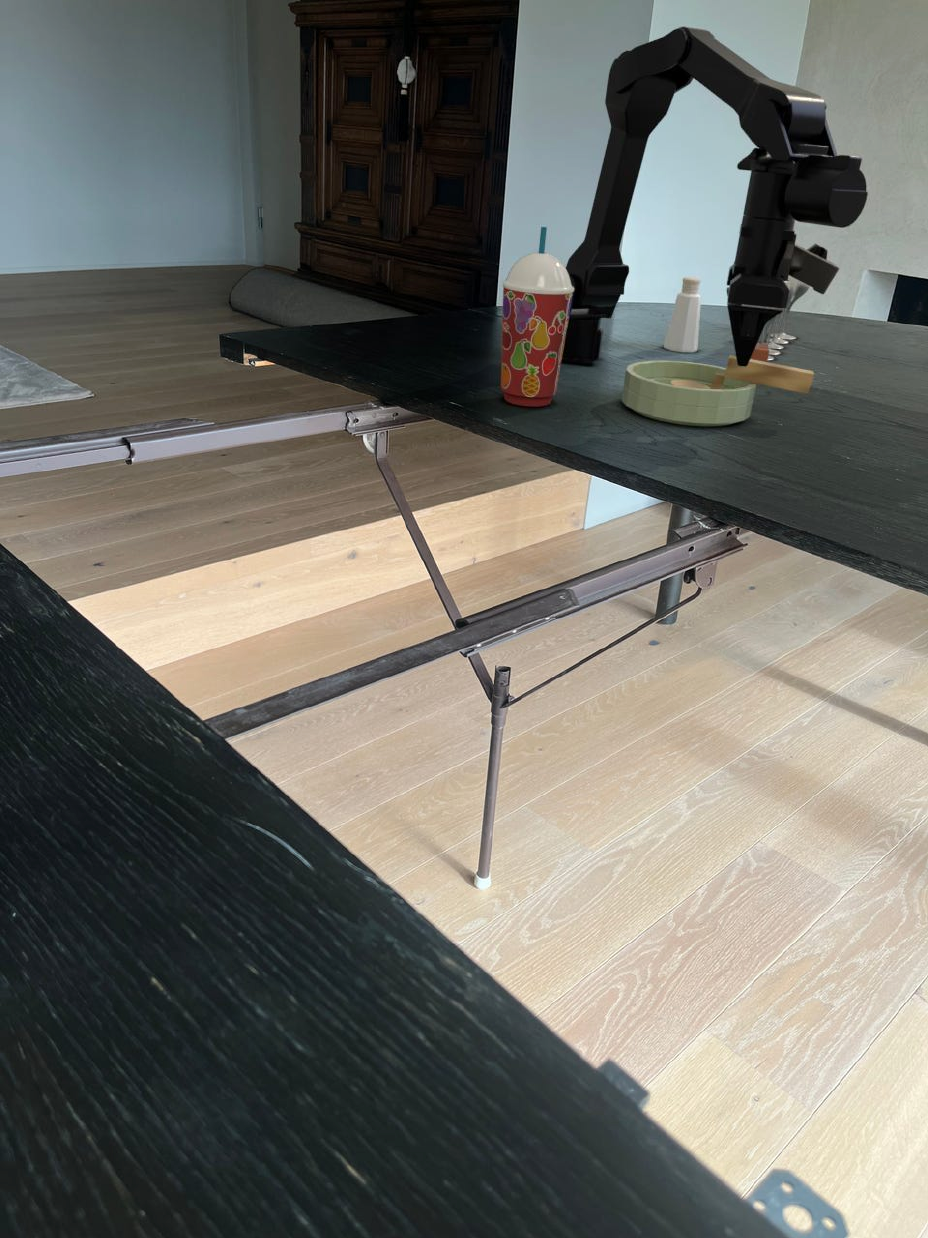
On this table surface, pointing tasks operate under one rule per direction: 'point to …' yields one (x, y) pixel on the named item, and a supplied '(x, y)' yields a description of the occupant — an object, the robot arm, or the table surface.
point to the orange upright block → (761, 352)
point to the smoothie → (534, 327)
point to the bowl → (686, 394)
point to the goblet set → (795, 293)
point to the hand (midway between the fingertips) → (741, 358)
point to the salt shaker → (685, 318)
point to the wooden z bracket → (758, 376)
